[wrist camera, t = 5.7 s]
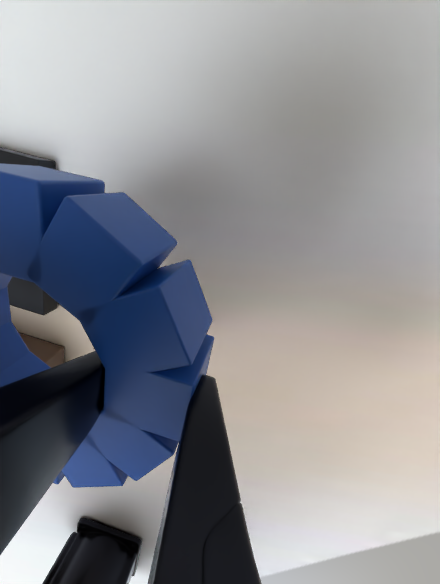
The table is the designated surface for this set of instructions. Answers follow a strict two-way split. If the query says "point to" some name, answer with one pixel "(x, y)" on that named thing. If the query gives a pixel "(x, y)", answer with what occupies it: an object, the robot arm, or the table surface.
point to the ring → (106, 312)
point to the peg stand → (18, 289)
